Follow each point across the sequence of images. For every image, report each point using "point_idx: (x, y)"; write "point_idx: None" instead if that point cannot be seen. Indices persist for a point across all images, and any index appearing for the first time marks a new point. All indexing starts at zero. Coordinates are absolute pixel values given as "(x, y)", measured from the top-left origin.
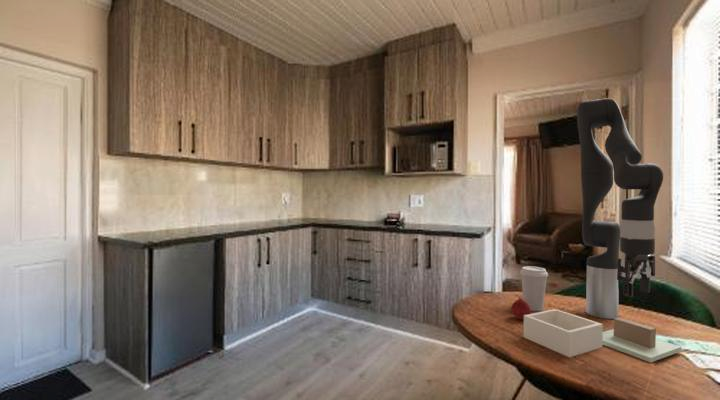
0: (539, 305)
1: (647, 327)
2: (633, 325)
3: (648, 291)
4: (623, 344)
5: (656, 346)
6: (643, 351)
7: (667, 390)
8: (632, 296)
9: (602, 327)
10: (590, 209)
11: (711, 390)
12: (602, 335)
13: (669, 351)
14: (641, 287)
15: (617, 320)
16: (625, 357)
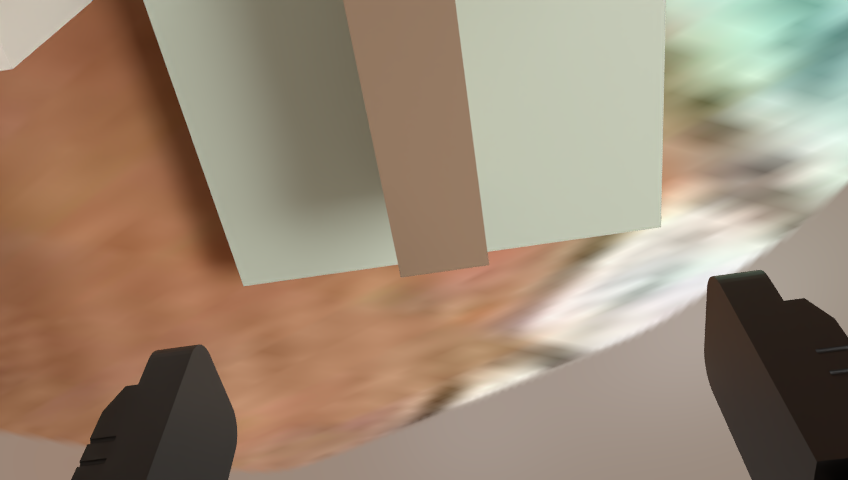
0: None
1: (431, 235)
2: (375, 145)
3: (714, 388)
4: (250, 86)
5: (485, 179)
6: (289, 214)
7: (82, 427)
8: (227, 436)
9: (22, 57)
10: None
11: (297, 464)
12: (59, 27)
13: (489, 249)
14: (735, 337)
15: None
16: (183, 140)
